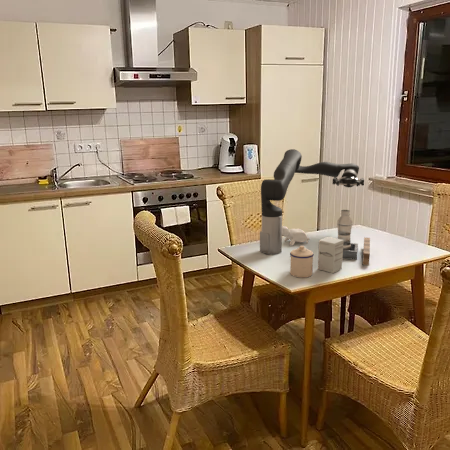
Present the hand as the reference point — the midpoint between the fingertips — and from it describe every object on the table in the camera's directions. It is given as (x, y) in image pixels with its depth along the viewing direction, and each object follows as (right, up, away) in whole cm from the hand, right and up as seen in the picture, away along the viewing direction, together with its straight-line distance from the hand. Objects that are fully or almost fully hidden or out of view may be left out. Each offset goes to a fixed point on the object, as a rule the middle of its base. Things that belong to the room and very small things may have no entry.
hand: (347, 183), depth 205 cm
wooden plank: (+7, -32, -6) cm, 34 cm away
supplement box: (-13, -37, -21) cm, 45 cm away
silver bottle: (-3, -32, -2) cm, 32 cm away
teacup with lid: (-26, -38, -24) cm, 52 cm away
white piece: (-23, -28, +15) cm, 39 cm away
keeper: (-3, -32, -3) cm, 32 cm away
